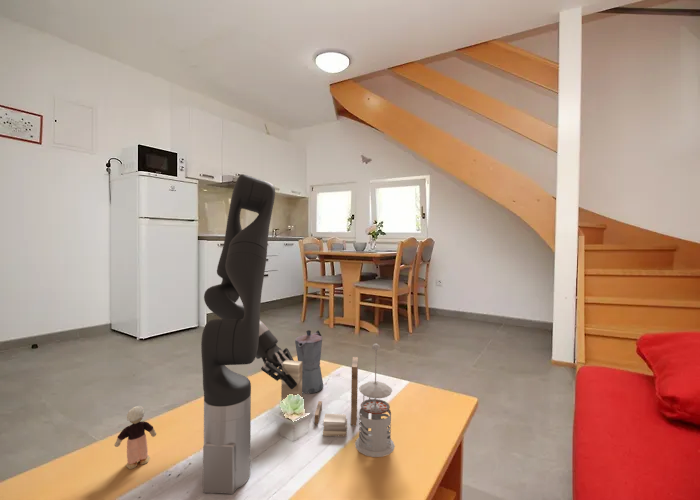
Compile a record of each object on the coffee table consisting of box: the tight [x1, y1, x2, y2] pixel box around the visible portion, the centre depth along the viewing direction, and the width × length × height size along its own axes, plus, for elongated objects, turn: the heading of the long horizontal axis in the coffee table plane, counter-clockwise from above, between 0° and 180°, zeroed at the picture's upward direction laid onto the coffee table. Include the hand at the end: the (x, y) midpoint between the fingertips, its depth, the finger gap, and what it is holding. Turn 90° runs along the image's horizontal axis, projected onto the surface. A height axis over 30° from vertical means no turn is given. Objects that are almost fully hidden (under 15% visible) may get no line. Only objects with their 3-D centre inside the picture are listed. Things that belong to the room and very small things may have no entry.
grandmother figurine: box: [114, 405, 157, 470], centre depth 74 cm, size 8×4×13 cm, turn 141°
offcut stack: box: [322, 413, 348, 438], centre depth 88 cm, size 4×6×4 cm
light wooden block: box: [280, 359, 303, 401], centre depth 95 cm, size 3×5×11 cm, turn 77°
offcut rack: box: [313, 356, 359, 427], centre depth 95 cm, size 8×12×16 cm
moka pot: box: [294, 329, 324, 394], centre depth 115 cm, size 10×15×20 cm, turn 163°
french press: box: [354, 343, 396, 458], centre depth 83 cm, size 10×12×25 cm
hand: (296, 384), depth 95 cm, fingers closed on light wooden block, 3 cm apart
